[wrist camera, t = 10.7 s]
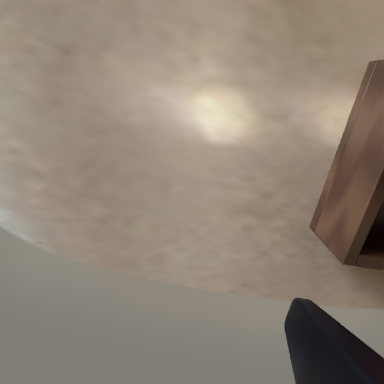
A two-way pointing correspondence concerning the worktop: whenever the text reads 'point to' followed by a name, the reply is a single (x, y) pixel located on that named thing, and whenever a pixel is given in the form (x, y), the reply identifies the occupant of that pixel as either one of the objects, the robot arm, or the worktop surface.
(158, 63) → the worktop surface
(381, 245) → the valve box
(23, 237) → the worktop surface
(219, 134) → the worktop surface
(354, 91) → the worktop surface
